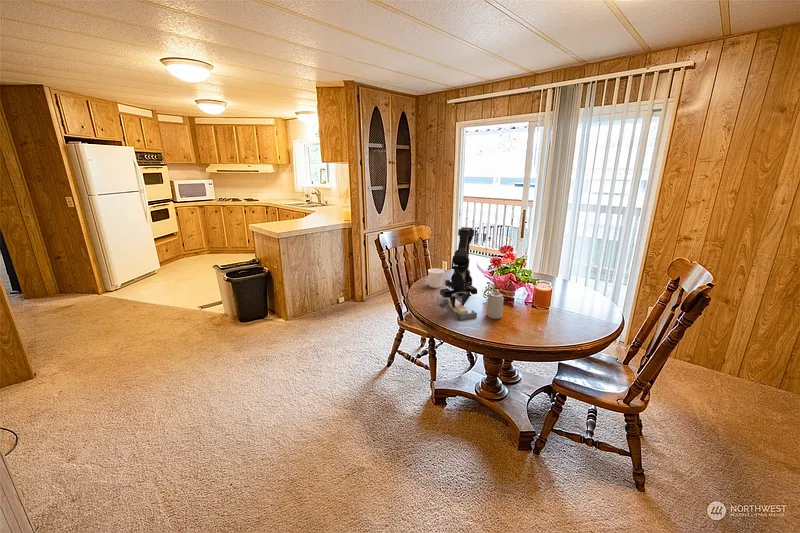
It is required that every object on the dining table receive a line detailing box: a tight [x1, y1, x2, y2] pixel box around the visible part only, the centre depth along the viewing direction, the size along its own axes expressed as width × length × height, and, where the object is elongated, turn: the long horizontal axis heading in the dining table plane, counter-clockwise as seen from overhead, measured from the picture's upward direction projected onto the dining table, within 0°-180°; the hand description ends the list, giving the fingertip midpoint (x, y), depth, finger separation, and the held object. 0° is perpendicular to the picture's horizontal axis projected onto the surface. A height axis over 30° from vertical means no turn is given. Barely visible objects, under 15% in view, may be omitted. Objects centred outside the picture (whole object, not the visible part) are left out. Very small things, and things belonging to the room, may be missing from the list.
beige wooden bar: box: [447, 298, 469, 315], centre depth 172 cm, size 4×16×4 cm, turn 13°
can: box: [486, 291, 505, 320], centre depth 164 cm, size 8×8×12 cm
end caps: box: [439, 297, 478, 321], centre depth 172 cm, size 10×22×2 cm, turn 18°
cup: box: [427, 267, 445, 289], centre depth 208 cm, size 10×10×10 cm
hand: (457, 307), depth 172 cm, fingers open, 5 cm apart
